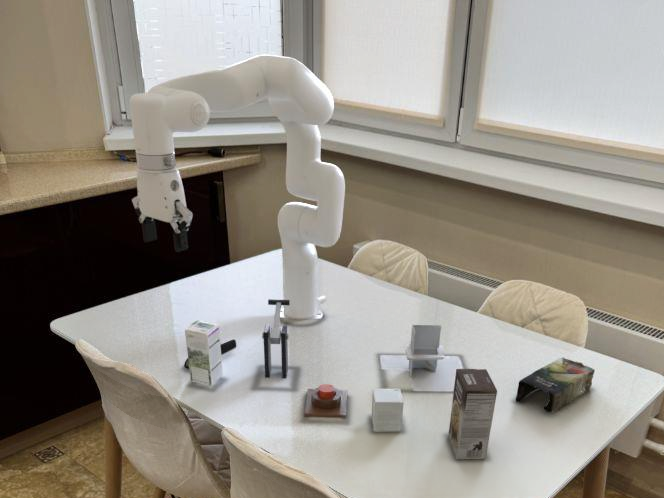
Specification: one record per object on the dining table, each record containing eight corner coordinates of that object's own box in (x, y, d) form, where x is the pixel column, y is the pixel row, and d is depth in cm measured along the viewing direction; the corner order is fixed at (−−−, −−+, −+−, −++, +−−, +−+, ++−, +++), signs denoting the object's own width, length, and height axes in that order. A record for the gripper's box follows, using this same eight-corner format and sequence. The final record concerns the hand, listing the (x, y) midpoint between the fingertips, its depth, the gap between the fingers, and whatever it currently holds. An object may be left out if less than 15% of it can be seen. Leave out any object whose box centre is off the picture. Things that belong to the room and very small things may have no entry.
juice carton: (557, 373, 173) (562, 351, 169) (593, 388, 167) (599, 365, 164) (513, 401, 160) (517, 378, 157) (550, 418, 155) (555, 394, 151)
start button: (318, 390, 154) (318, 383, 153) (334, 391, 154) (335, 384, 153) (317, 398, 151) (317, 391, 150) (334, 399, 151) (334, 392, 150)
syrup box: (224, 379, 164) (220, 322, 156) (211, 390, 159) (206, 333, 151) (203, 375, 165) (197, 318, 157) (190, 386, 160) (183, 328, 153)
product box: (370, 417, 152) (372, 387, 148) (398, 417, 152) (400, 387, 148) (373, 432, 147) (374, 402, 143) (401, 432, 147) (404, 402, 143)
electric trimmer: (240, 352, 177) (239, 340, 175) (193, 372, 166) (192, 360, 164) (230, 348, 179) (229, 336, 177) (183, 367, 168) (181, 356, 166)
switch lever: (269, 303, 166) (268, 296, 164) (289, 303, 166) (289, 297, 164) (264, 343, 160) (263, 337, 158) (286, 344, 160) (285, 338, 158)
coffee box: (446, 435, 147) (455, 367, 138) (476, 435, 147) (486, 367, 139) (455, 460, 139) (465, 390, 130) (486, 459, 140) (498, 390, 131)
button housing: (307, 396, 159) (307, 380, 156) (346, 397, 159) (347, 382, 157) (304, 421, 149) (304, 405, 147) (345, 422, 149) (346, 407, 147)
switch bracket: (260, 367, 170) (258, 318, 163) (297, 368, 170) (296, 320, 163) (254, 388, 161) (252, 338, 154) (293, 390, 161) (292, 339, 154)
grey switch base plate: (472, 392, 163) (478, 347, 157) (384, 390, 162) (387, 346, 156) (459, 356, 179) (464, 314, 173) (379, 354, 178) (381, 312, 172)
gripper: (200, 165, 138) (207, 250, 147) (142, 152, 146) (152, 233, 155) (171, 171, 132) (180, 258, 142) (113, 157, 141) (125, 241, 150)
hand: (165, 245), depth 148 cm, fingers open, 9 cm apart
